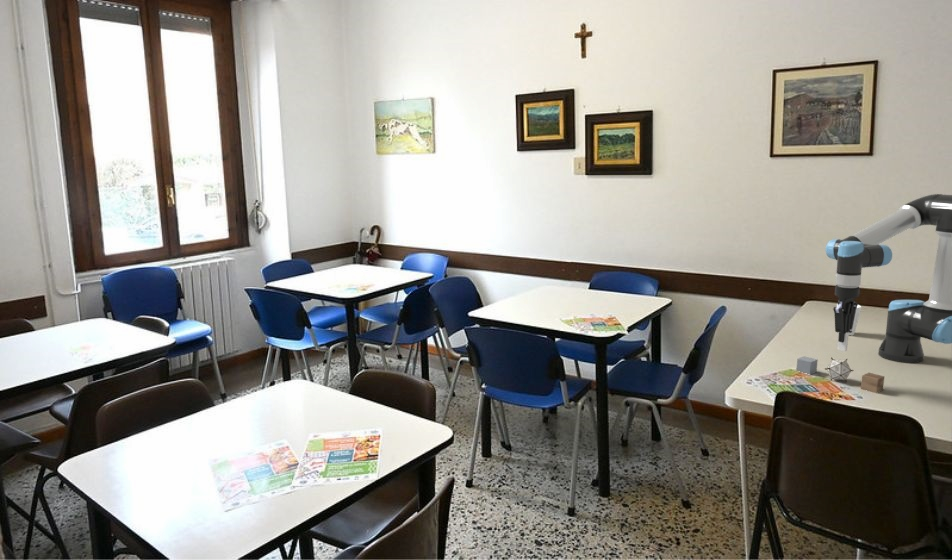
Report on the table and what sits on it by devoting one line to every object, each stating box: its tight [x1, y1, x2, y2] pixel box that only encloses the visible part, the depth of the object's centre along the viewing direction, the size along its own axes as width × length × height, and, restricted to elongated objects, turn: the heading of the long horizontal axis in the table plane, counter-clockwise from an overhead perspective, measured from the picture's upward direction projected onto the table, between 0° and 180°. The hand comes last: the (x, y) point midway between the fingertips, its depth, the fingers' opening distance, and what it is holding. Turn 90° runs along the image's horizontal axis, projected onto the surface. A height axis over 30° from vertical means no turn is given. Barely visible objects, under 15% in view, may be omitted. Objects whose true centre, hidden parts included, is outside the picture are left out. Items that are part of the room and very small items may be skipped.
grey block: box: [796, 356, 819, 375], centre depth 245 cm, size 5×5×5 cm
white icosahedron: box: [824, 357, 854, 383], centre depth 236 cm, size 9×8×10 cm
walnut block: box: [860, 372, 885, 394], centre depth 227 cm, size 5×5×5 cm
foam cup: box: [836, 303, 862, 336], centre depth 292 cm, size 10×9×13 cm
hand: (842, 350), depth 234 cm, fingers closed
